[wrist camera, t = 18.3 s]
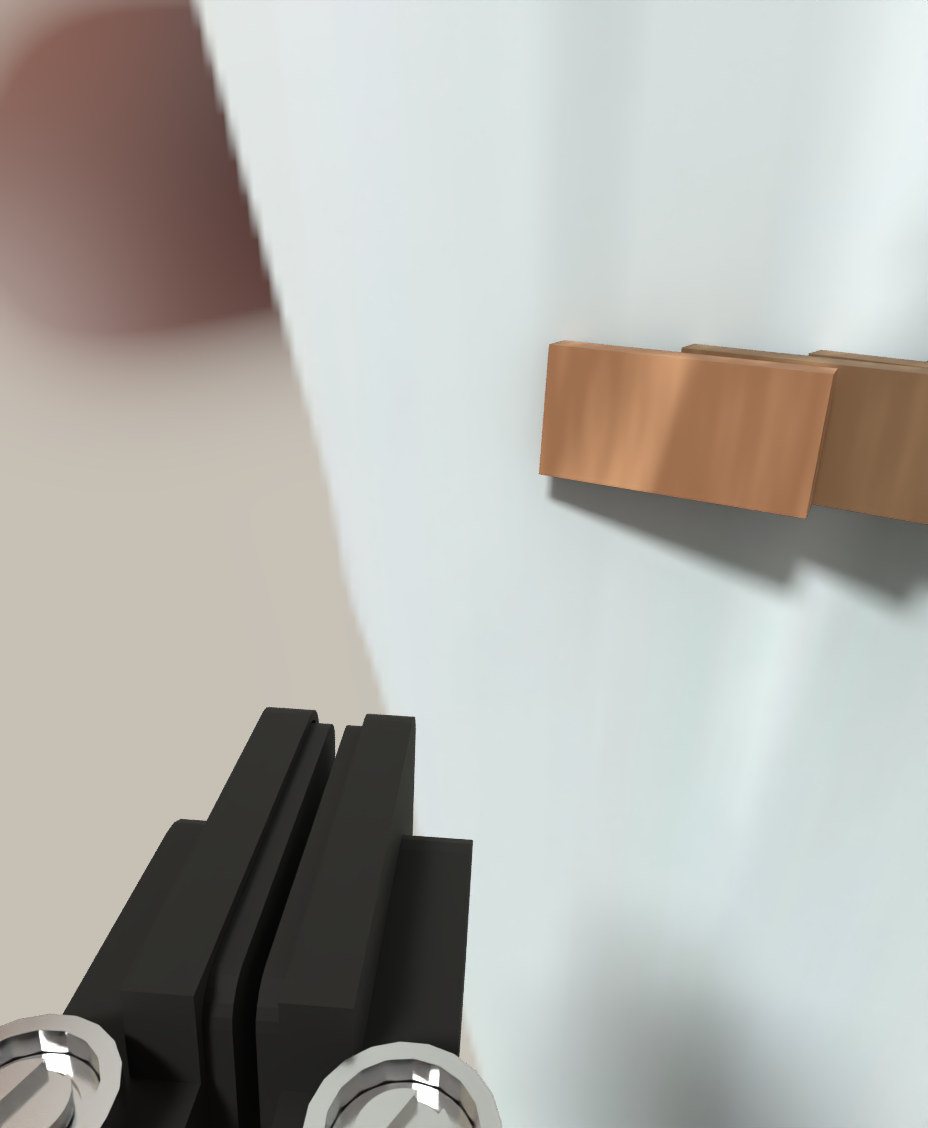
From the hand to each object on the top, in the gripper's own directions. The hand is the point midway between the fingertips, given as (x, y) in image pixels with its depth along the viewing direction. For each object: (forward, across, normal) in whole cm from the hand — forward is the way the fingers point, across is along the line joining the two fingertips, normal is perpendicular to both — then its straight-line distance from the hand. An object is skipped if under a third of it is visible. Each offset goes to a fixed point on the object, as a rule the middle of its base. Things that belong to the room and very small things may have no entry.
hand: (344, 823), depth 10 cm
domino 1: (+26, -3, 0) cm, 27 cm away
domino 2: (+26, -8, 0) cm, 28 cm away
